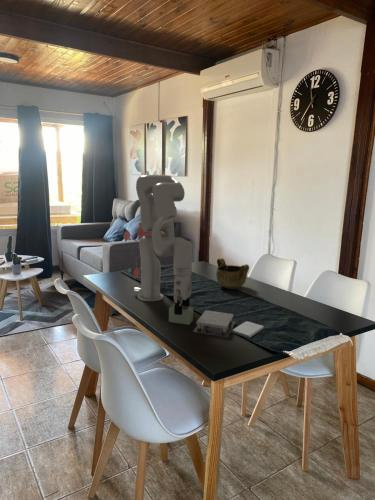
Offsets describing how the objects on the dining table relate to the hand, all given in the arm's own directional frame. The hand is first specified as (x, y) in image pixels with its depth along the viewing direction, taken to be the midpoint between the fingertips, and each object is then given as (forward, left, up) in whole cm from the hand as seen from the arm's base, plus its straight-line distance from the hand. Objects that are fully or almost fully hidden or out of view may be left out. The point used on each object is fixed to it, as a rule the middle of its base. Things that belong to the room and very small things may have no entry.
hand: (182, 310), depth 154 cm
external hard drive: (+27, +1, -6) cm, 28 cm away
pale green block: (-1, 0, -5) cm, 5 cm away
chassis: (+14, -1, -5) cm, 15 cm away
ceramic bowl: (+9, +56, -5) cm, 58 cm away
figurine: (-41, +54, -5) cm, 68 cm away
